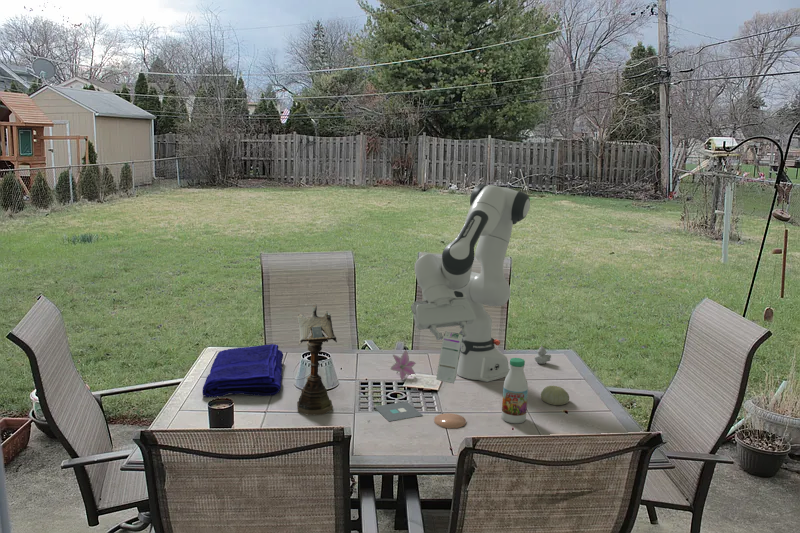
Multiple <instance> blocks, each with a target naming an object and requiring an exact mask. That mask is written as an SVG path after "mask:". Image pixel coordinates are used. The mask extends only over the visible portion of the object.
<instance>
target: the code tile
mask: <svg viewBox="0 0 800 533" xmlns="http://www.w3.org/2000/svg"><path fill="white" fill-rule="evenodd" d="M374 409H376V410H377V412H378V413H379V414H380V415H382V417H384V418H385V419H386V420H387V421H388V422H393V421H394V422H396V421H400V420H406V418H407V419H413V418H417V417H418V418H419V417H423V416H424V415H423V413H421V412H420V411H419V410H417V408H415V407H414V406H413V405H412V404H411V403H410V402H408V401H407V400H405V401H401V402H394V403H389V404H383V405H376V406H374Z"/></svg>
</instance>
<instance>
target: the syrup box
mask: <svg viewBox="0 0 800 533" xmlns="http://www.w3.org/2000/svg"><path fill="white" fill-rule="evenodd" d="M459 333H460V332H459ZM459 333H458V332H453V331H445V332H444V333H443V335H442V336H443V339H442V343H441V349H440V354H439V360H438V361H439V362H438V366H437V371H436V372H437V373H436V381H440V382H444V383H449V384H455V381H456V378H457V375H458V374H457V368H458V363H459V359H460V353H461V351H460V350H461V344H462V338H463V335H462V334H459Z"/></svg>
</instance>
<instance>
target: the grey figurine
mask: <svg viewBox="0 0 800 533" xmlns="http://www.w3.org/2000/svg"><path fill="white" fill-rule="evenodd" d="M551 358H552V355H551V354H549V353H547V350H546V348H544V347H543V345H542V344H541V346H540V347H539V348H538V350H536V355H535V356H534V361H535V362H536V363H537V364H539V365H544V364H546V363H547V362H550V361H551Z"/></svg>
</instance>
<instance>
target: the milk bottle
mask: <svg viewBox="0 0 800 533" xmlns="http://www.w3.org/2000/svg"><path fill="white" fill-rule="evenodd" d="M525 363H526V360H525V359H524V358H522V357H512V358H510V359H509V367H510V370H509V373H508V375H507V376H506V377H504V378H505V379H504V381H503V386H502V388H503V391H502V406H501V419H502V420H503V421H504V422H506V423H509V424H515V425H516V424H522V423H524V422H525V421H526V420H527V409H528V407H527V406H528V396H529V395H528V390H529V389H528V388H529V387H528V384H529V383H528V379H527V377H526V375H525V371H524V368H525Z"/></svg>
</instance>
